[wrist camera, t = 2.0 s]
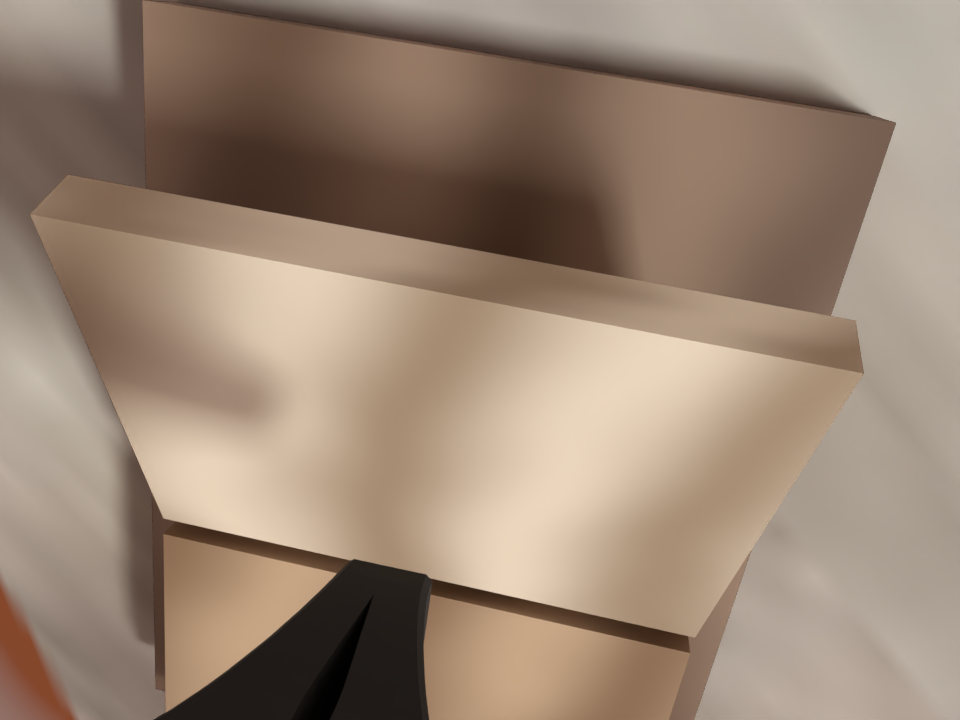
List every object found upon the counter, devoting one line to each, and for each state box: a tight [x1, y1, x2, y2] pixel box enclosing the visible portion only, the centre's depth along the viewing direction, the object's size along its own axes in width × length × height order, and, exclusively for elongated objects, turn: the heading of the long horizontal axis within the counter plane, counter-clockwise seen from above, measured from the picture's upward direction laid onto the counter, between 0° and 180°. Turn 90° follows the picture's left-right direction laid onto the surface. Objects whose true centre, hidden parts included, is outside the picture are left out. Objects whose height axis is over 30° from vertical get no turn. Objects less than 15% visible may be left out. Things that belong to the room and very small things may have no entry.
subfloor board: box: [142, 0, 896, 720], centre depth 21 cm, size 16×20×3 cm
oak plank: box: [30, 175, 864, 638], centre depth 17 cm, size 14×10×1 cm
